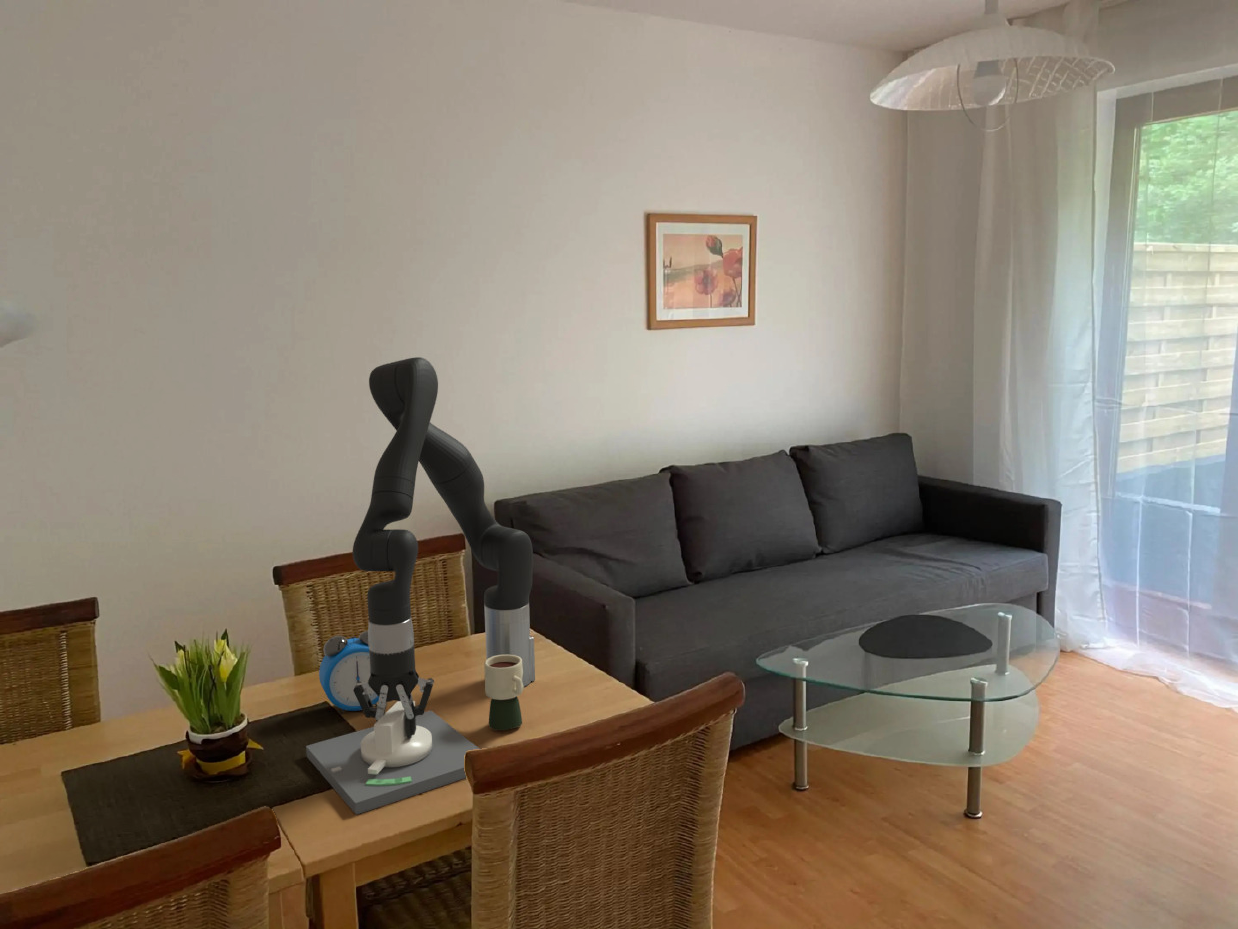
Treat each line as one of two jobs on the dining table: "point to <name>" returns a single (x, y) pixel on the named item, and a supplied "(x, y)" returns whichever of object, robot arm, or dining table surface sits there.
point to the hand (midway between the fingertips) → (397, 736)
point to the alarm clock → (346, 670)
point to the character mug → (504, 690)
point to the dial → (394, 742)
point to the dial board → (391, 783)
